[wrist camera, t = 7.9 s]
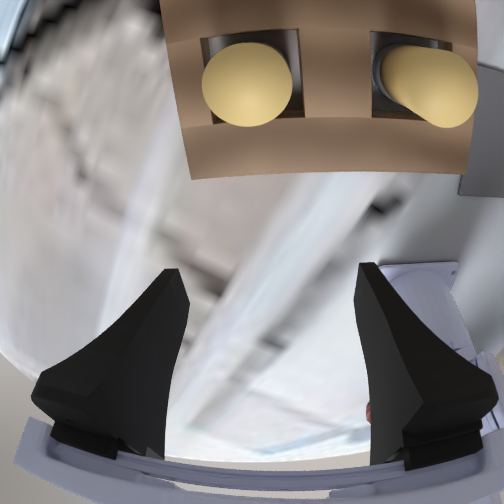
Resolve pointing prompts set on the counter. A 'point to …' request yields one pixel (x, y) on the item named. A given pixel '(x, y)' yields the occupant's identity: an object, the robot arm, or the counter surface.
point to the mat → (486, 139)
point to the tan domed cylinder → (247, 83)
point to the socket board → (318, 87)
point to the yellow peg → (427, 82)
